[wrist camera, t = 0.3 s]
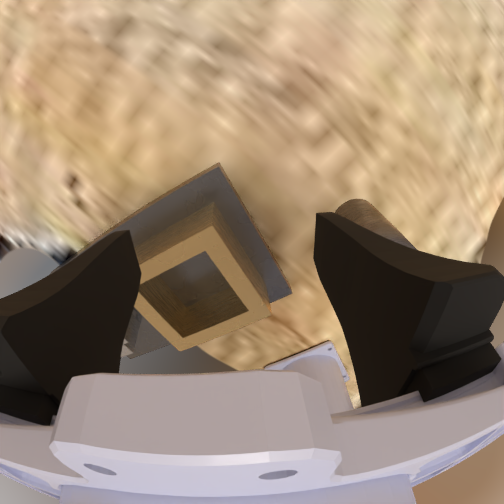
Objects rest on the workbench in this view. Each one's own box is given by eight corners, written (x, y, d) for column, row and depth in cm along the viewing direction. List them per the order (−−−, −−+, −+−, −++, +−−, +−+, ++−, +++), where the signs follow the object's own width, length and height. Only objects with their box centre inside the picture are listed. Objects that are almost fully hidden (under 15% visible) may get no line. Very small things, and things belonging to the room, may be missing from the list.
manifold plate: (290, 285, 25) (301, 323, 21) (132, 351, 28) (124, 386, 24) (219, 162, 19) (217, 183, 15) (51, 271, 22) (30, 303, 18)
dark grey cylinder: (381, 231, 23) (431, 290, 16) (339, 251, 24) (379, 318, 17) (369, 190, 21) (427, 243, 14) (324, 212, 22) (366, 274, 15)
